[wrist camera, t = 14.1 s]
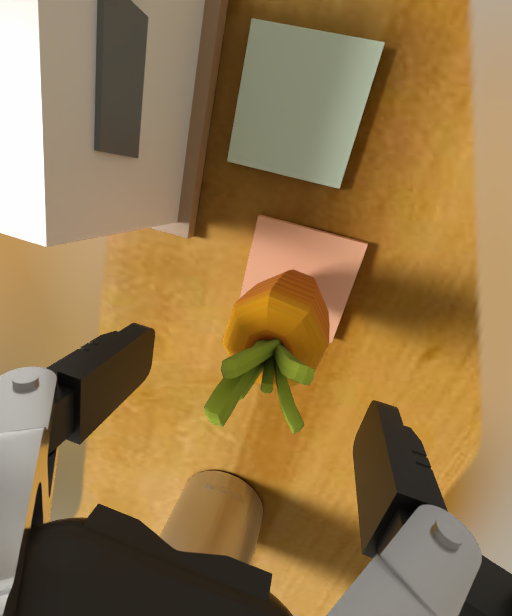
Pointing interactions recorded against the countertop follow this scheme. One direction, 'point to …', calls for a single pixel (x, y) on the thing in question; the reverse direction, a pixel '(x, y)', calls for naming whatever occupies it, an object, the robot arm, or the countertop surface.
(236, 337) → the carrot
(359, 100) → the sage tile
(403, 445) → the robot arm
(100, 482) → the countertop surface
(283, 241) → the terracotta tile
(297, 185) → the countertop surface
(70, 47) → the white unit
